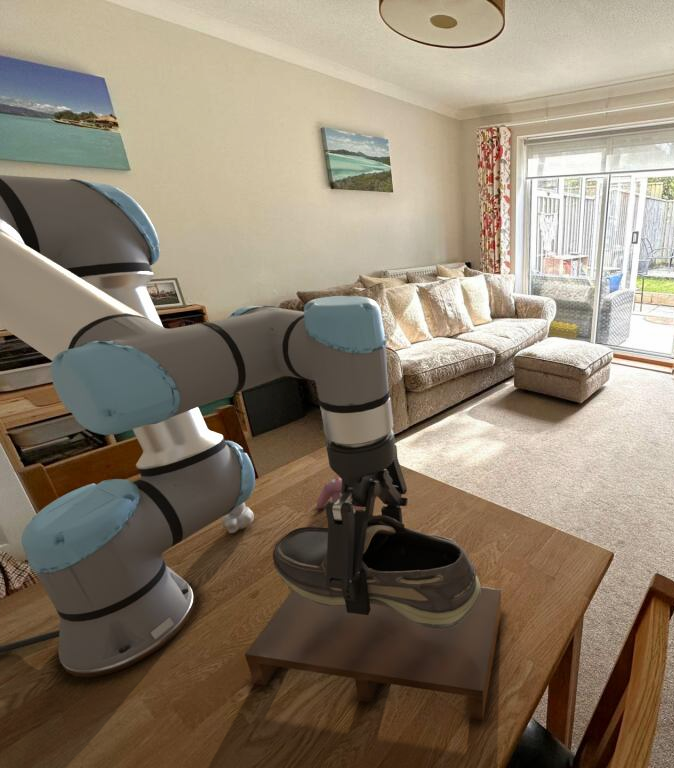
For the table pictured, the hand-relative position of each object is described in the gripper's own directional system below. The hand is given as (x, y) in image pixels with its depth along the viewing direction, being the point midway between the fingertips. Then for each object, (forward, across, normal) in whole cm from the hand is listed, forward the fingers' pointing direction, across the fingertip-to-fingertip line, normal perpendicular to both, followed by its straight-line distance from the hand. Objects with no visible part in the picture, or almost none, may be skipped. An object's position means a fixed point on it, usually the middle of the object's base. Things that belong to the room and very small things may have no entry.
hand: (378, 574), depth 55 cm
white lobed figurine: (+15, -20, -40) cm, 47 cm away
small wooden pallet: (+15, 0, 0) cm, 15 cm away
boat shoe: (+2, 0, 0) cm, 2 cm away
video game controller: (+15, -30, -23) cm, 40 cm away
